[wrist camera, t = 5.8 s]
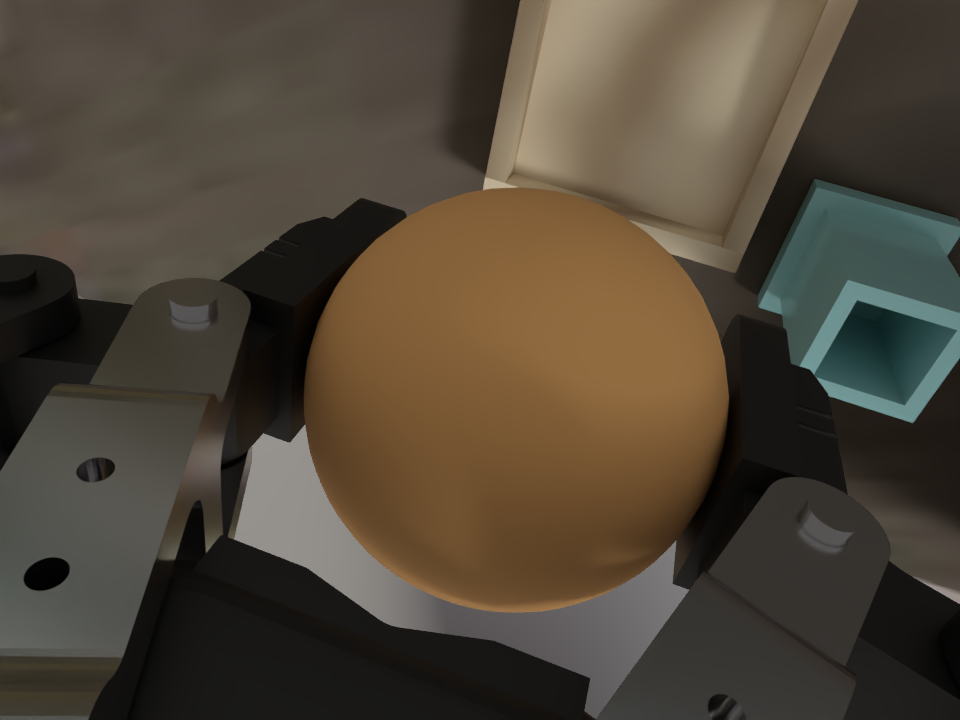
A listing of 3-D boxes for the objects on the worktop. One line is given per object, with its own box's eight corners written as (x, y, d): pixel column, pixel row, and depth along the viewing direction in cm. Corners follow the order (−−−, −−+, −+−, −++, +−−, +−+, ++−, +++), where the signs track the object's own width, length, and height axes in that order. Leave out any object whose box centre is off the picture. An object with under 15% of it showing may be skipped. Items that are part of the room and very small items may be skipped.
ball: (792, 197, 10) (840, 436, 5) (661, 475, 13) (623, 771, 9) (423, 93, 11) (199, 228, 6) (385, 381, 14) (218, 607, 9)
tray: (861, -33, 22) (871, -28, 20) (735, 252, 28) (735, 273, 26) (554, -105, 23) (541, -106, 22) (495, 180, 29) (481, 196, 27)
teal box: (957, 218, 25) (1022, 309, 19) (884, 334, 28) (922, 443, 22) (814, 178, 25) (836, 255, 20) (757, 296, 28) (763, 391, 23)
